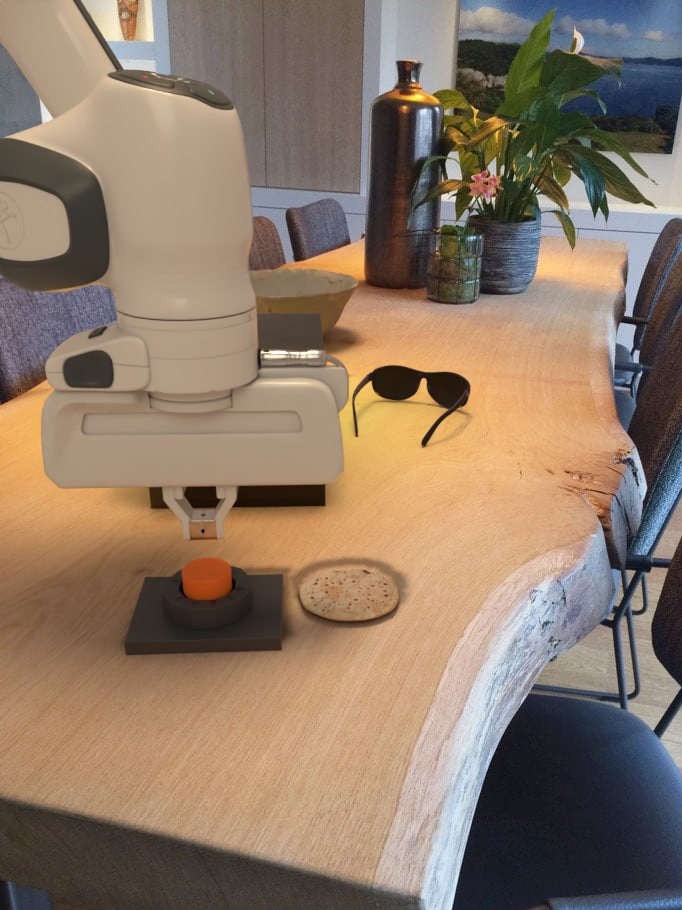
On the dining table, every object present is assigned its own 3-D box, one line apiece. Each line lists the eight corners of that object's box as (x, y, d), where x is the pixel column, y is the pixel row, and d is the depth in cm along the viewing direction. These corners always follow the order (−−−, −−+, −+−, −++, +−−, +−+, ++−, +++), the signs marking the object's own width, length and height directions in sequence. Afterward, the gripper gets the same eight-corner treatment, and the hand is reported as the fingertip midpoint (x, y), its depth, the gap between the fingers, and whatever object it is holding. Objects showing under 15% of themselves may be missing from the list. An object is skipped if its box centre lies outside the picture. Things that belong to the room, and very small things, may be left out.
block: (125, 656, 59) (121, 620, 57) (146, 589, 67) (142, 557, 66) (281, 651, 60) (280, 616, 58) (283, 586, 68) (282, 554, 67)
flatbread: (399, 577, 69) (400, 567, 69) (397, 629, 62) (398, 618, 62) (302, 573, 69) (302, 563, 69) (290, 624, 63) (290, 612, 62)
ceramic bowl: (215, 358, 128) (211, 293, 124) (233, 323, 149) (230, 266, 144) (358, 360, 129) (359, 295, 125) (356, 325, 150) (357, 269, 145)
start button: (180, 602, 60) (178, 582, 60) (186, 577, 64) (184, 557, 63) (230, 601, 61) (229, 581, 60) (233, 576, 64) (232, 556, 63)
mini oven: (170, 509, 80) (156, 358, 74) (191, 441, 96) (181, 312, 90) (325, 507, 81) (325, 358, 75) (320, 440, 98) (320, 313, 91)
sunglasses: (472, 408, 109) (475, 371, 107) (448, 450, 96) (450, 409, 94) (374, 397, 113) (375, 361, 111) (336, 436, 99) (336, 396, 97)
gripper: (346, 337, 58) (345, 514, 64) (45, 338, 56) (73, 520, 62) (351, 362, 52) (350, 554, 58) (17, 363, 51) (50, 561, 56)
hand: (205, 536), depth 60 cm, fingers closed
